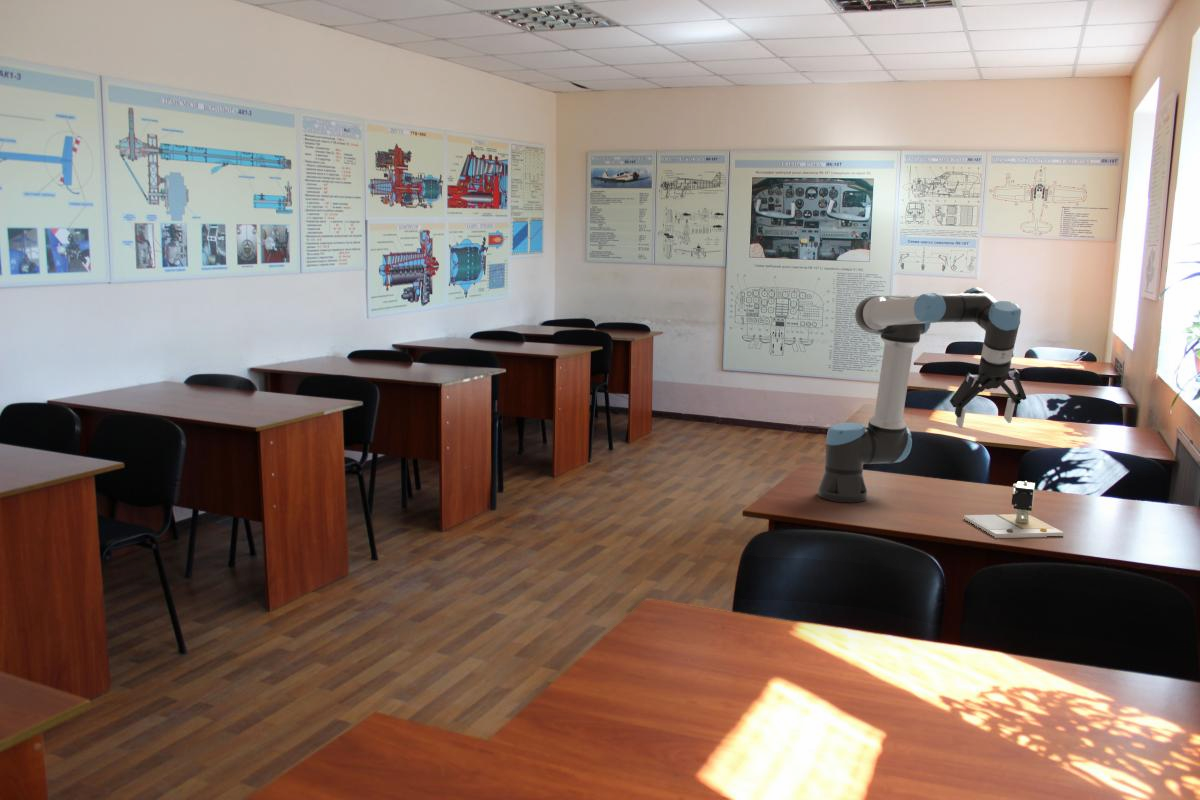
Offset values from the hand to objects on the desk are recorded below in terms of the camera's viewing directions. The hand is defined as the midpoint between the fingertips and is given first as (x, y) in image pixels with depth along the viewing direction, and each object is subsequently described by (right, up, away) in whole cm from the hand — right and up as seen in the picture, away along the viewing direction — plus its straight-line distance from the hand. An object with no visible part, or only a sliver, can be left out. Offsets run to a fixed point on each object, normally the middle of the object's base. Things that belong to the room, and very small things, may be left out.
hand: (983, 422), depth 263 cm
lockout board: (+12, -30, +10) cm, 34 cm away
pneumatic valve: (+15, -29, +12) cm, 35 cm away
